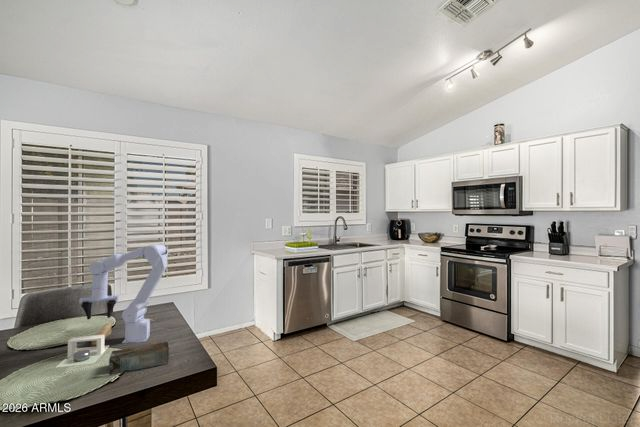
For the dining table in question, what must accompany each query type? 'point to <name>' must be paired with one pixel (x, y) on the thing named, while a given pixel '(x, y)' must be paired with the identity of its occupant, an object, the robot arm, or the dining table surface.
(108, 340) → the dining table surface
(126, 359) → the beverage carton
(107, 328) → the blade batten
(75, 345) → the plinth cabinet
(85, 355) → the token
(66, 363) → the floor board
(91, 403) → the dining table surface
